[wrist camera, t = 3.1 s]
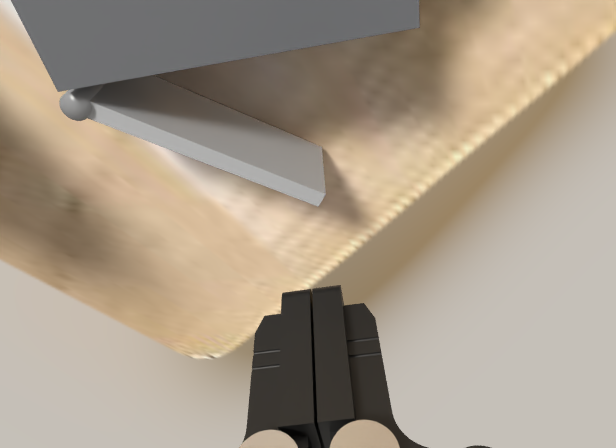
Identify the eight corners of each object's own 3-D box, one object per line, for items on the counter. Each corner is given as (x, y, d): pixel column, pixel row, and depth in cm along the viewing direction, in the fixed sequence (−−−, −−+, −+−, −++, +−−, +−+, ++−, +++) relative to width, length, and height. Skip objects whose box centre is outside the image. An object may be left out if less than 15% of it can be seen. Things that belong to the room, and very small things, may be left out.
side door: (323, 142, 26) (327, 193, 22) (311, 163, 27) (313, 216, 23) (105, 49, 23) (61, 88, 18) (99, 76, 23) (56, 119, 19)
